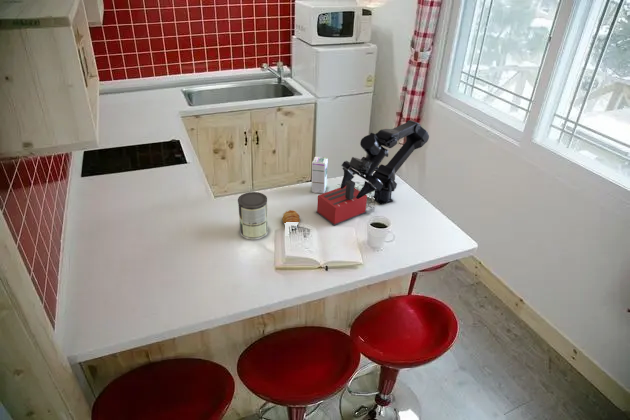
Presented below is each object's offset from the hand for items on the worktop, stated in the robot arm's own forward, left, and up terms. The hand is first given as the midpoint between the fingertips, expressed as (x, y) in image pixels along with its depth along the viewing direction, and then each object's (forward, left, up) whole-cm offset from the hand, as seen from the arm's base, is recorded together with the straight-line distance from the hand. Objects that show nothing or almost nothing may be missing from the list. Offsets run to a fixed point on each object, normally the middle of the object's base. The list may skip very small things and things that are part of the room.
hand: (348, 193), depth 167 cm
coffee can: (+37, -6, -11) cm, 39 cm away
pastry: (+22, -5, -11) cm, 25 cm away
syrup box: (0, -23, -11) cm, 26 cm away
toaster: (+1, -3, -11) cm, 11 cm away
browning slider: (0, 0, -2) cm, 2 cm away
